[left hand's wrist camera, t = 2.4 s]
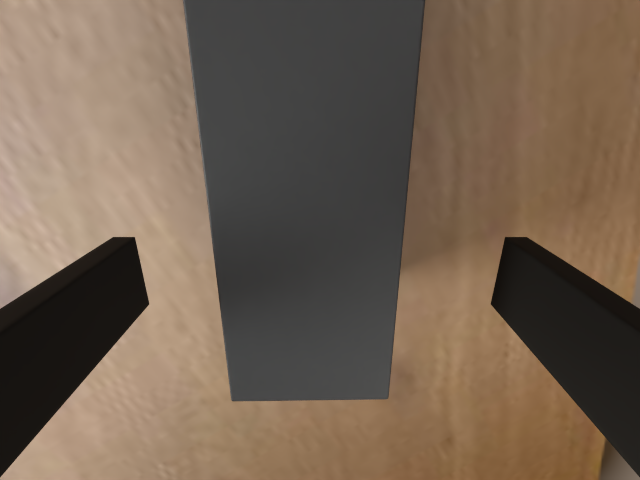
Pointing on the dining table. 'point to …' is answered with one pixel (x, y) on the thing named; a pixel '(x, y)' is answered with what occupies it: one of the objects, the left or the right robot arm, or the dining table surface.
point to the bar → (306, 185)
